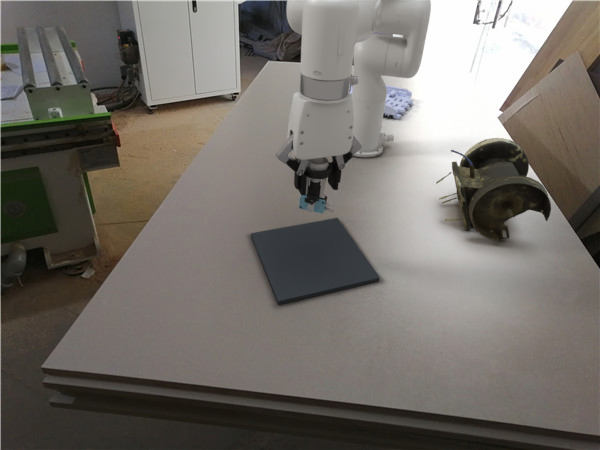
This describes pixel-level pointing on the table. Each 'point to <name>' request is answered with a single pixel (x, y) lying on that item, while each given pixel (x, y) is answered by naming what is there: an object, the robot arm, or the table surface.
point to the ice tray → (401, 101)
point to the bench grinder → (496, 187)
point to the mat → (311, 260)
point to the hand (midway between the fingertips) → (316, 187)
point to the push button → (316, 186)
